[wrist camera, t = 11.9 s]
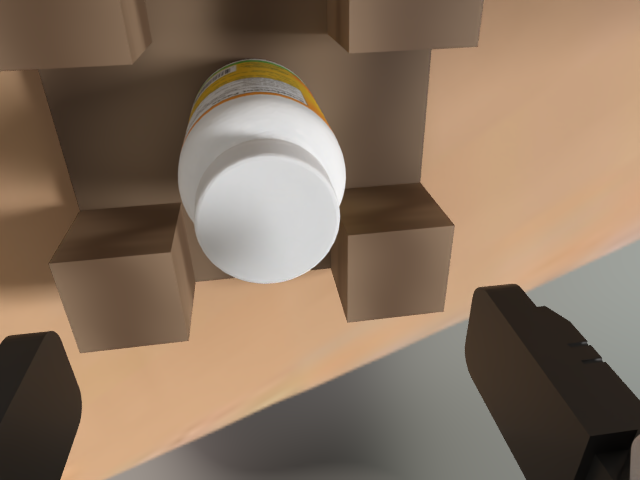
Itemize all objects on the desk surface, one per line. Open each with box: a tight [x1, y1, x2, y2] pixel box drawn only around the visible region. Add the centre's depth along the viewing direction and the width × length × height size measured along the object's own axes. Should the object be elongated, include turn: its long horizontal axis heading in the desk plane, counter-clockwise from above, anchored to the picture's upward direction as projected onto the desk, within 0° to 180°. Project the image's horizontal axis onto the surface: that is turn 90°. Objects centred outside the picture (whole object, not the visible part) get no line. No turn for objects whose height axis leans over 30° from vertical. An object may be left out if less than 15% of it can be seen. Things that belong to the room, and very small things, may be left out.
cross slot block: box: [0, 0, 484, 353], centre depth 20 cm, size 16×16×6 cm
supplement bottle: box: [178, 59, 346, 284], centre depth 18 cm, size 5×5×10 cm
